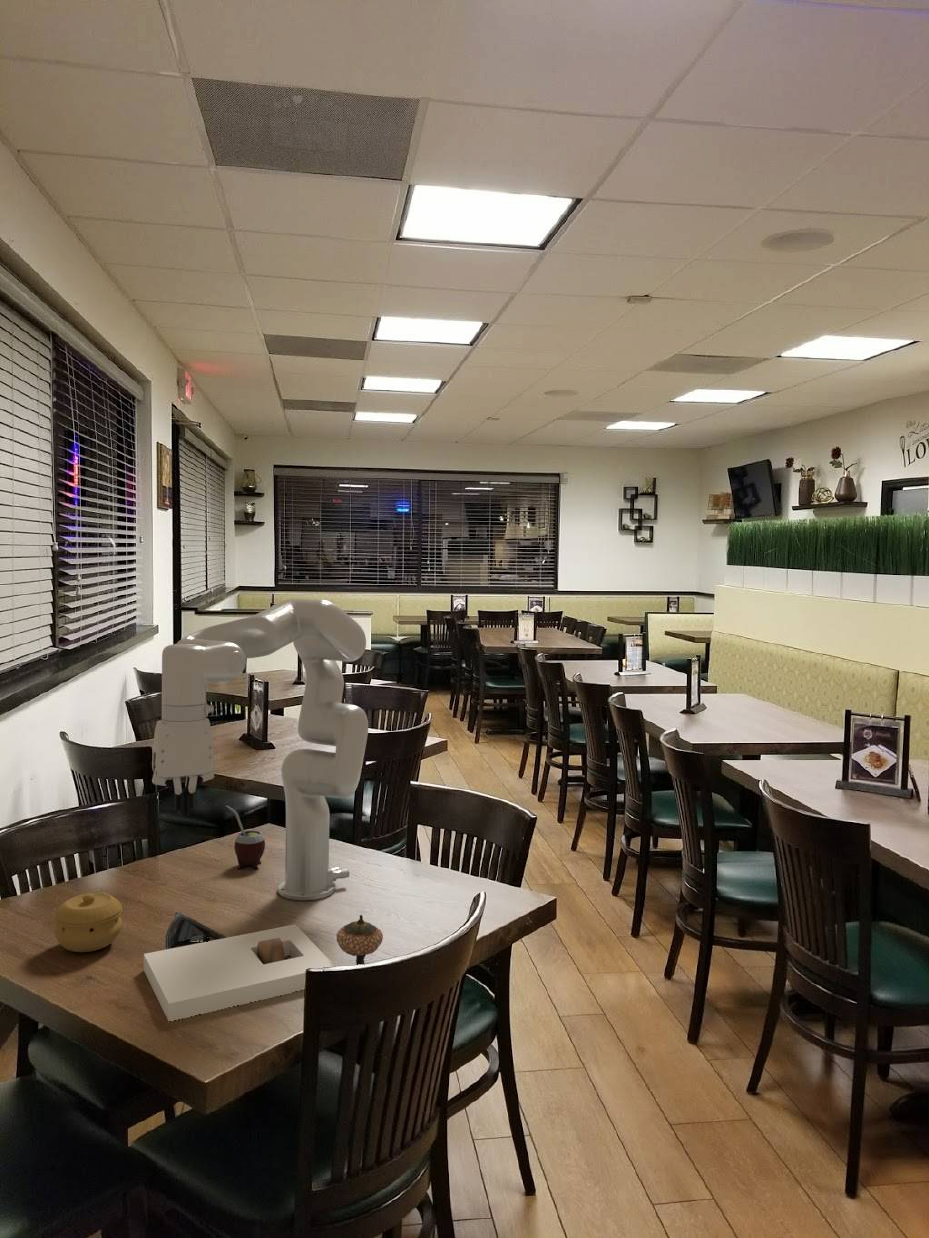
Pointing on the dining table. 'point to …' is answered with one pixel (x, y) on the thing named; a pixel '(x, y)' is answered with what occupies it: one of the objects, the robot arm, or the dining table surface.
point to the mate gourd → (248, 846)
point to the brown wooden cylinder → (270, 951)
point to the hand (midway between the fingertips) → (183, 813)
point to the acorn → (359, 939)
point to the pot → (88, 922)
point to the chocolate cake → (188, 932)
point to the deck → (229, 972)
